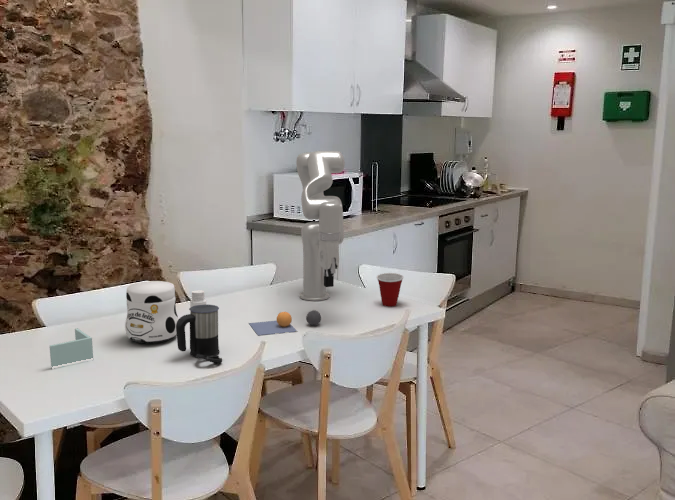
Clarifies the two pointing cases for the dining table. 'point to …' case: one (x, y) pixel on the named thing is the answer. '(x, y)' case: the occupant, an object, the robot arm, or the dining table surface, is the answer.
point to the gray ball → (313, 317)
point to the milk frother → (200, 332)
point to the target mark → (270, 328)
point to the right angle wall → (72, 350)
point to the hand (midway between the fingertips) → (328, 286)
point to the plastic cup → (389, 288)
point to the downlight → (198, 298)
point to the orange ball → (284, 319)
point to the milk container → (151, 312)
